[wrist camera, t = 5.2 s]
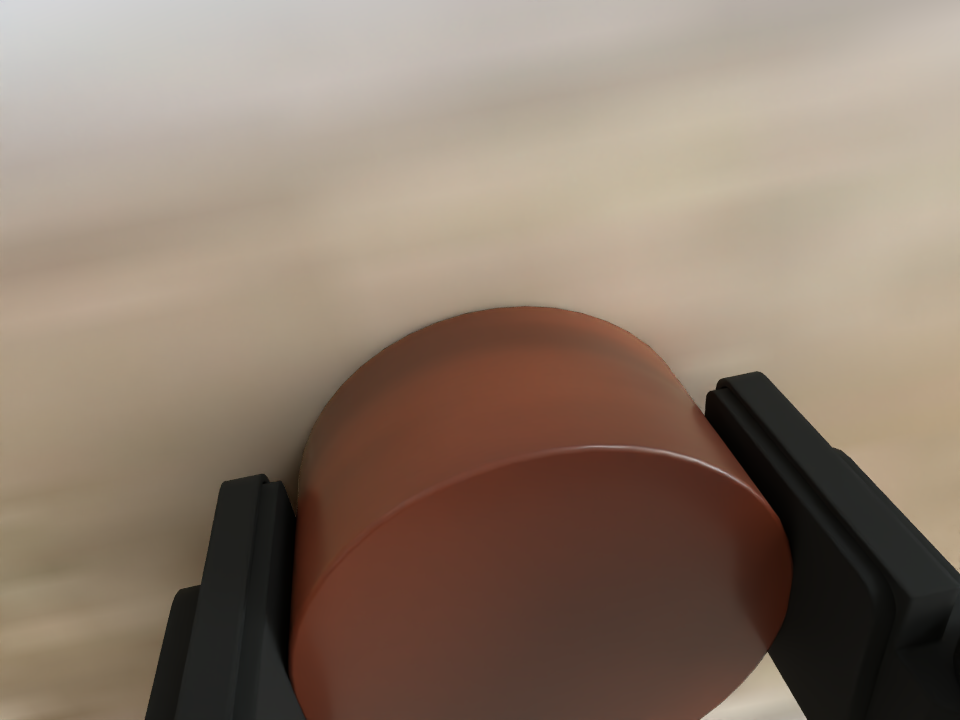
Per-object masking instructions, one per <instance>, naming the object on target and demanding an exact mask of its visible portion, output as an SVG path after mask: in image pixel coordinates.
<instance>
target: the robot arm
mask: <svg viewBox="0 0 960 720" xmlns="http://www.w3.org/2000/svg"><path fill="white" fill-rule="evenodd" d="M705 417H706V419H707V420H708V421H709V423H710V424H711V425H712V427H713V428H714V430H715V431H716V432H717V434H718V435H719V436H720V438H721V439H722V440H723V442H724V443H725V445H726V446H727V447H728V449H729V450H730V451H731V453H732V454H733V455H734V457H735V458H736V460H737V461H738V462H739V464H740V465H741V466H742V468H743V469H744V470H745V472H746V473H747V474H748V476H749V477H750V479H751V480H752V481H753V483H754V484H755V485H756V487H757V488H758V489H759V491H760V492H761V494H762V495H763V496H764V498H765V499H766V500H767V502H768V503H769V505H770V506H771V507H772V509H773V510H774V512H775V513H776V514H777V516H778V517H779V518H780V521H781V523H782V525H783V528H784V530H785V532H786V534H787V537H788V539H789V544H790V549H791V554H792V559H793V577H792V585H791V591H790V597H789V602H788V608H787V612H786V616H785V619H784V621H783V624H782V627H781V629H780V631H779V632H778V634H777V636H776V638H775V640H774V642H773V644H772V646H771V647H770V649H769V650H768V653H769V655H770V657H771V658H772V660H773V662H774V664H775V665H776V667H777V669H778V670H779V672H780V674H781V675H782V677H783V679H784V681H785V682H786V684H787V686H788V687H789V689H790V691H791V693H792V694H793V696H794V698H795V699H796V701H797V703H798V705H799V706H800V708H801V710H802V711H803V713H804V715H805V716H806V718H807V720H960V574H959V572H958V571H957V570H956V569H955V568H954V567H953V566H952V565H951V564H950V563H949V562H948V561H947V560H946V559H945V558H944V557H943V556H942V554H941V553H940V552H939V551H938V550H937V549H936V548H935V547H934V546H933V545H932V544H931V543H930V542H929V541H928V540H927V539H926V538H925V536H924V535H923V534H922V533H921V532H920V531H919V530H918V529H917V528H916V527H915V526H914V525H913V524H912V523H911V522H910V521H909V520H908V518H907V517H906V516H905V515H904V514H903V513H902V512H901V511H900V510H899V509H898V508H897V507H896V506H895V505H894V504H893V503H892V502H891V501H890V499H889V498H888V497H887V496H886V495H885V494H884V493H883V492H882V491H881V490H880V489H879V488H878V487H877V486H876V485H875V484H874V483H873V481H872V480H871V479H870V478H869V477H868V476H867V475H866V474H865V473H864V472H863V471H862V470H861V469H860V468H859V467H858V466H857V465H856V463H855V462H854V461H853V460H852V459H851V458H850V457H849V456H847V455H846V454H845V453H844V452H843V451H841V450H838V449H836V448H832V447H831V446H830V445H829V443H828V442H827V441H826V440H825V439H824V438H823V437H822V436H821V435H820V434H819V433H818V432H817V431H816V429H815V428H814V427H813V426H812V425H811V424H810V423H809V422H808V421H807V420H806V419H805V418H804V417H803V415H802V414H801V413H800V412H799V411H798V410H797V409H796V408H795V407H794V406H793V405H792V404H791V403H790V402H789V400H788V399H787V398H786V397H785V396H784V395H783V394H782V393H781V392H780V391H779V390H778V389H777V388H776V386H775V385H774V384H773V383H772V382H771V381H770V380H769V379H768V378H767V377H766V376H765V375H764V374H763V373H761V372H757V371H756V372H752V373H747V374H742V375H737V376H732V377H727V378H722V379H720V380H719V381H718V383H717V386H716V390H713V391H710V392H708V394H707V396H706V406H705ZM295 530H296V516H295V513H294V511H293V508H292V505H291V503H290V500H289V497H288V494H287V492H286V489H285V486H284V484H283V483H282V481H276V482H271V483H270V482H269V479H268V477H267V476H266V475H265V474H258V475H253V476H249V477H244V478H239V479H234V480H229V481H224V482H223V483H222V484H221V487H220V490H219V495H218V500H217V505H216V510H215V516H214V521H213V526H212V531H211V536H210V541H209V546H208V551H207V556H206V561H205V566H204V571H203V576H202V581H201V585H198V586H193V587H188V588H184V589H180V590H179V591H178V592H177V594H176V595H175V597H174V600H173V603H172V606H171V610H170V614H169V618H168V622H167V627H166V631H165V635H164V639H163V644H162V648H161V652H160V657H159V661H158V665H157V669H156V674H155V678H154V682H153V686H152V691H151V695H150V699H149V704H148V708H147V712H146V716H145V720H306V718H305V716H304V714H303V712H302V710H301V707H300V705H299V703H298V701H297V699H296V696H295V694H294V691H293V689H292V686H291V683H290V679H289V675H288V640H289V624H290V609H291V593H292V577H293V561H294V546H295Z"/></svg>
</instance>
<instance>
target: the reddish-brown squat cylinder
mask: <svg viewBox="0 0 960 720" xmlns="http://www.w3.org/2000/svg"><path fill="white" fill-rule="evenodd" d="M792 577H793V559H792V554H791V549H790V544H789V539H788V537H787V534H786V532H785V530H784V528H783V525H782V523H781V521H780V518H779V517H778V516H777V514H776V513H775V512H774V510H773V509H772V507H771V506H770V505H769V503H768V502H767V500H766V499H765V498H764V496H763V495H762V494H761V492H760V491H759V489H758V488H757V487H756V485H755V484H754V483H753V481H752V480H751V479H750V477H749V476H748V474H747V473H746V472H745V470H744V469H743V468H742V466H741V465H740V464H739V462H738V461H737V460H736V458H735V457H734V455H733V454H732V453H731V451H730V450H729V449H728V447H727V446H726V445H725V443H724V442H723V440H722V439H721V438H720V436H719V435H718V434H717V432H716V431H715V430H714V428H713V427H712V425H711V424H710V423H709V421H708V420H707V419H706V417H705V416H704V415H703V413H702V412H701V410H700V409H699V408H698V406H697V405H696V404H695V402H694V401H693V400H692V398H691V397H690V395H689V394H688V393H687V391H686V390H685V389H684V387H683V386H682V385H681V383H680V382H679V380H678V379H677V378H676V376H675V375H674V374H673V372H672V371H671V370H670V368H669V367H668V366H667V364H666V363H665V361H664V360H663V359H661V358H660V357H659V356H658V355H657V354H656V353H655V352H654V351H653V350H652V349H651V348H650V347H649V346H648V345H647V344H645V343H644V342H642V341H641V340H639V339H638V338H637V337H635V336H634V335H632V334H631V333H630V332H628V331H625V330H623V329H621V328H619V327H617V326H615V325H613V324H611V323H609V322H607V321H604V320H601V319H598V318H595V317H592V316H589V315H586V314H583V313H579V312H573V311H568V310H562V309H557V308H547V307H530V306H521V307H505V308H493V309H488V310H482V311H477V312H471V313H466V314H463V315H459V316H456V317H453V318H450V319H446V320H443V321H440V322H437V323H434V324H432V325H430V326H427V327H425V328H423V329H420V330H418V331H416V332H414V333H411V334H409V335H407V336H406V337H404V338H402V339H401V340H399V341H397V342H395V343H394V344H392V345H390V346H388V347H387V348H385V349H383V350H382V351H381V352H380V353H378V354H377V355H376V356H374V357H373V358H372V359H370V360H369V361H368V362H366V363H365V364H364V365H362V366H361V367H360V368H359V369H358V370H357V371H356V372H355V373H354V374H353V375H352V376H351V377H350V378H349V379H348V380H347V381H346V382H345V383H344V384H343V385H342V386H341V387H340V388H339V389H338V391H337V392H336V393H335V394H334V396H333V397H332V398H331V399H330V401H329V402H328V403H327V405H326V406H325V407H324V409H323V411H322V412H321V414H320V416H319V418H318V419H317V421H316V423H315V425H314V426H313V428H312V430H311V433H310V435H309V438H308V441H307V443H306V446H305V449H304V451H303V456H302V461H301V466H300V471H299V483H298V498H297V514H296V530H295V546H294V561H293V577H292V593H291V609H290V624H289V640H288V675H289V679H290V683H291V686H292V689H293V691H294V694H295V696H296V699H297V701H298V703H299V705H300V707H301V710H302V712H303V714H304V716H305V718H306V720H700V719H702V718H703V717H704V716H705V715H707V714H708V713H709V712H710V711H712V710H713V709H714V708H716V707H717V706H718V705H719V704H721V703H722V702H723V701H724V700H725V699H726V698H727V697H728V696H729V695H731V694H732V693H733V692H734V691H735V690H736V689H737V688H738V687H739V686H740V685H741V684H742V683H743V682H744V681H745V680H746V678H747V677H748V676H749V675H750V674H751V673H752V672H753V670H754V669H755V668H756V667H757V666H758V664H759V663H760V661H761V660H762V659H763V657H764V656H765V654H766V653H767V652H768V650H769V649H770V647H771V646H772V644H773V642H774V640H775V638H776V636H777V634H778V632H779V631H780V629H781V627H782V624H783V621H784V619H785V616H786V612H787V608H788V602H789V597H790V591H791V585H792Z"/></svg>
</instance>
